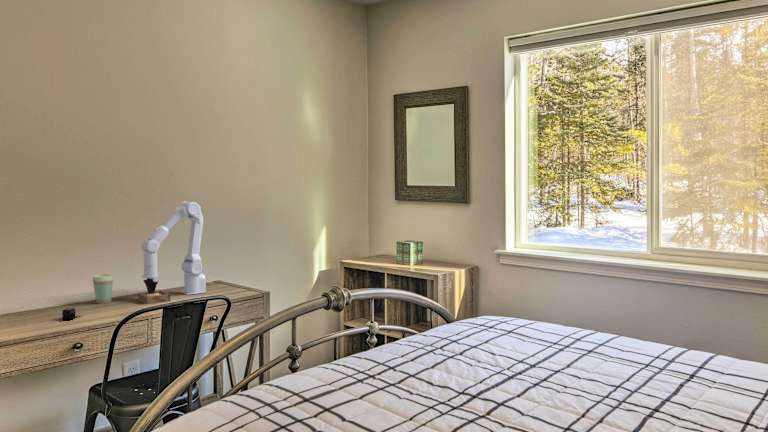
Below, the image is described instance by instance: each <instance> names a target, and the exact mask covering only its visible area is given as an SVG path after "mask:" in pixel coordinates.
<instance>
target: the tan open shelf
mask: <svg viewBox="0 0 768 432" xmlns="http://www.w3.org/2000/svg"><path fill="white" fill-rule="evenodd" d="M159 294H161V295H158V296H150V297H147V296H146V295H144V294H143V293H140V292H138V293H137V301H139V302H140V303H142V304H144V305H149V304H151V305H152V304H156V303H157V304H159V303H164V302H165V303H166V302H171V294H170V293H169V292H166V291H164V290H159Z"/></svg>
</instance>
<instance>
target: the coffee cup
mask: <svg viewBox="0 0 768 432" xmlns="http://www.w3.org/2000/svg"><path fill="white" fill-rule="evenodd" d="M91 280H92V283H93V291H94V295H95V302H96V304H99V305H101V304H104V305H105V304H109V303H112V293H113V292H112V291H113V284H114V283H113V281H114V277H113V275H112V274H108V273H107V274H105V273H103V274H96V275H94V276H93V278H92V279H91Z"/></svg>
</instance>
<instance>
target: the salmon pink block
mask: <svg viewBox="0 0 768 432" xmlns="http://www.w3.org/2000/svg"><path fill="white" fill-rule="evenodd" d="M158 295H161V294H160V292H159V293H158V292H155V293H153V294H148V293H147V294H146V295H145V296H146V297H150V296H158Z"/></svg>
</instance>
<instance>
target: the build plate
mask: <svg viewBox="0 0 768 432" xmlns="http://www.w3.org/2000/svg"><path fill="white" fill-rule="evenodd" d="M78 317H79V318H81V317H82V315H76V308H75V307H66V308H64V309H62V317H61V318H60V319H58V320H57V321H70V320H72V321H74V320H76V319H75V318H77V319H79V318H78ZM73 319H74V320H73ZM70 322H71V321H70Z"/></svg>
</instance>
